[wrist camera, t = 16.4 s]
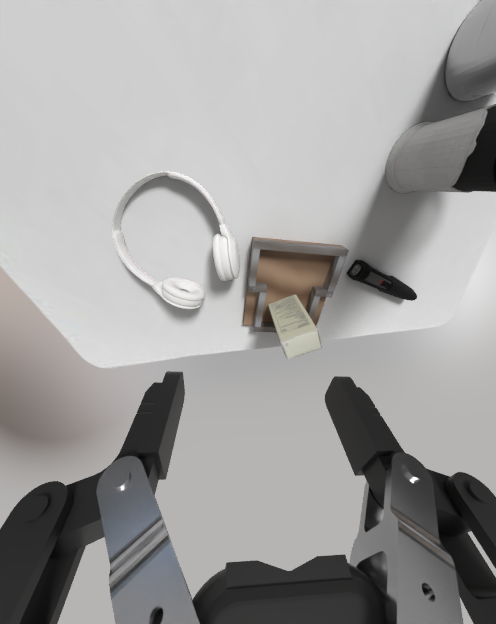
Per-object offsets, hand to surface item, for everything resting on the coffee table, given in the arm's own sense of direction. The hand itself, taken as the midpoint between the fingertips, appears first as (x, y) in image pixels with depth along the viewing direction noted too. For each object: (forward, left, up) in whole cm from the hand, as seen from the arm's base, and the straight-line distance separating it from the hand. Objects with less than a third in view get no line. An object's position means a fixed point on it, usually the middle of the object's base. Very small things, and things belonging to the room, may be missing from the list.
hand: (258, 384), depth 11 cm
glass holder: (-15, +28, -30) cm, 44 cm away
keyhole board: (+8, +10, -30) cm, 33 cm away
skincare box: (+12, +10, -29) cm, 33 cm away
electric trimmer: (+5, +29, -31) cm, 42 cm away
